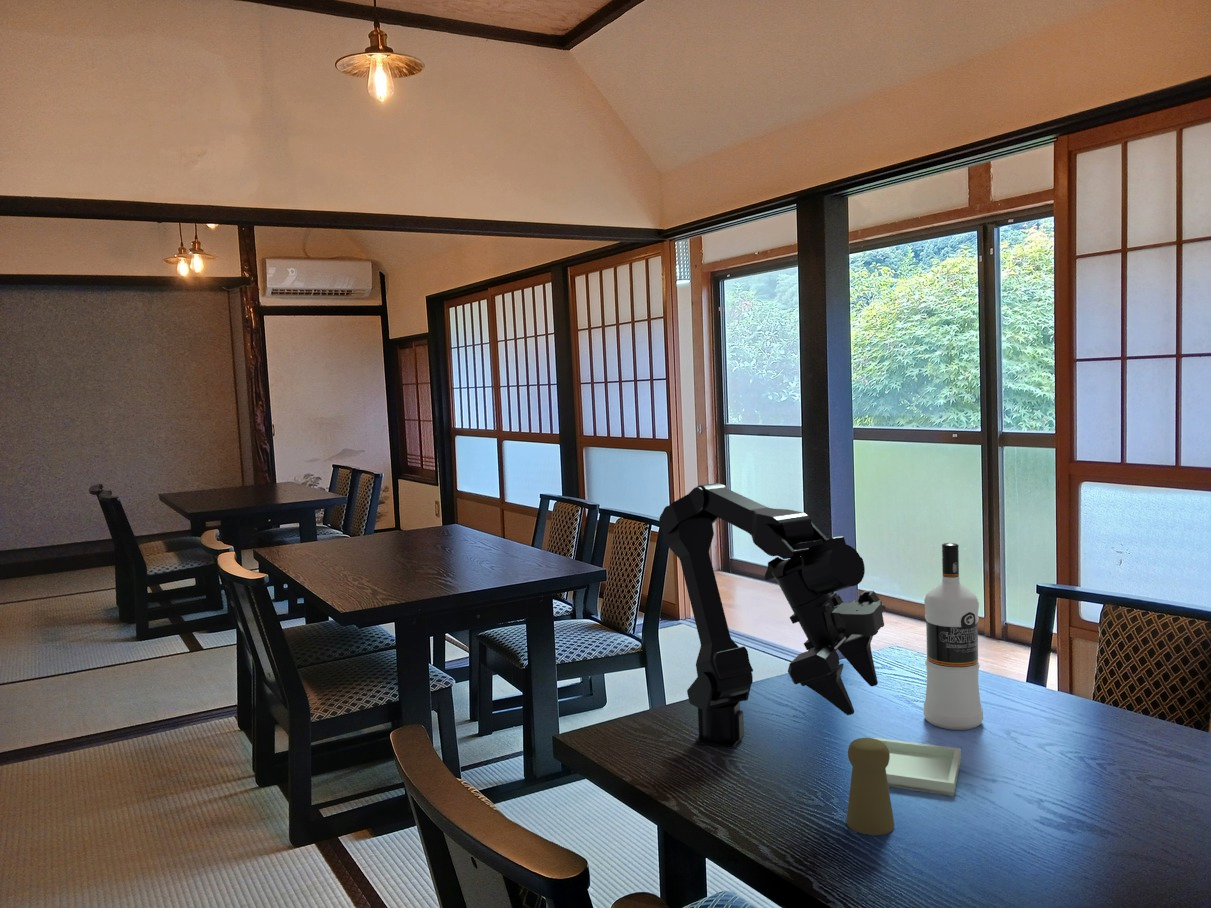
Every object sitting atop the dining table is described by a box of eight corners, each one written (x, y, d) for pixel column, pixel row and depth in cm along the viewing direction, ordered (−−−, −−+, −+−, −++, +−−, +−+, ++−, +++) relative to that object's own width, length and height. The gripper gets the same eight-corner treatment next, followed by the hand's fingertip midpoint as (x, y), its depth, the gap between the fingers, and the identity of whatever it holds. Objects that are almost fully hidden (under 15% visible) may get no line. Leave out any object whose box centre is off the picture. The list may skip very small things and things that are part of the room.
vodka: (960, 708, 155) (957, 536, 153) (995, 727, 146) (993, 545, 144) (912, 715, 153) (909, 541, 151) (945, 735, 144) (942, 550, 142)
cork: (897, 836, 113) (895, 751, 112) (847, 833, 114) (845, 749, 113) (891, 814, 119) (890, 733, 118) (844, 811, 120) (842, 731, 119)
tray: (860, 782, 129) (859, 770, 128) (874, 748, 140) (873, 737, 140) (954, 796, 123) (953, 783, 123) (960, 760, 134) (960, 748, 134)
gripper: (831, 604, 114) (891, 715, 113) (881, 558, 129) (934, 656, 127) (762, 629, 121) (818, 735, 119) (817, 583, 135) (867, 677, 134)
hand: (863, 699), depth 125 cm, fingers open, 9 cm apart
